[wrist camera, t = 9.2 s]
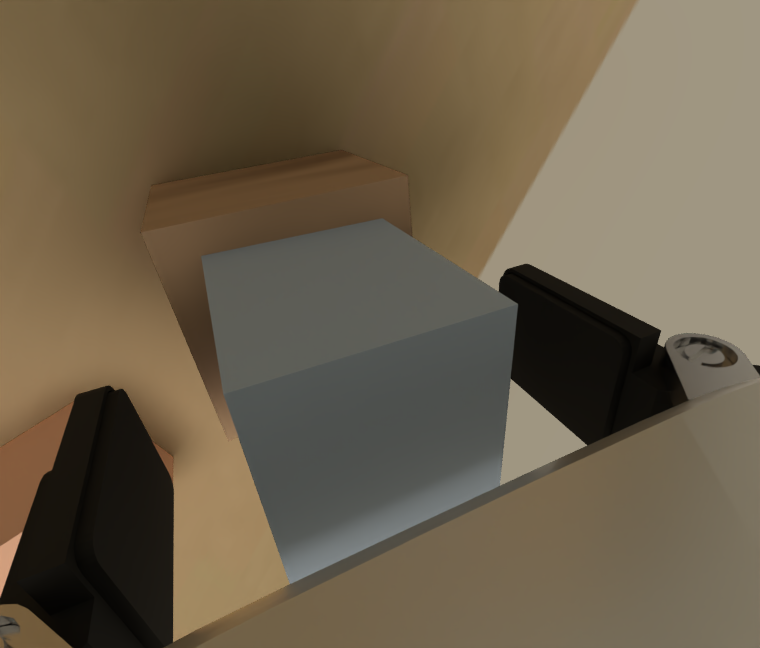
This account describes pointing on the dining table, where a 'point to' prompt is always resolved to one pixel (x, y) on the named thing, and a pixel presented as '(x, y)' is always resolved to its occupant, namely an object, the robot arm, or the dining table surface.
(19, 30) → the dining table surface
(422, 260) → the slate block
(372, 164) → the walnut block
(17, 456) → the terracotta block
